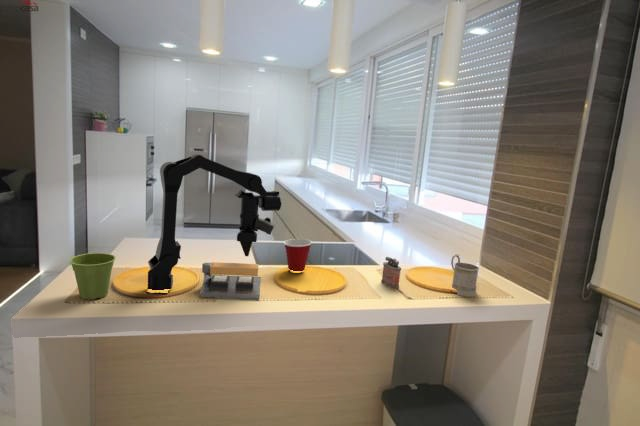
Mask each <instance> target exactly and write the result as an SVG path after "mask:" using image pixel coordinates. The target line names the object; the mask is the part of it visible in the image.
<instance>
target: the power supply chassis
mask: <svg viewBox="0 0 640 426" xmlns="http://www.w3.org/2000/svg"><path fill="white" fill-rule="evenodd" d="M261 279H262V277H261V276H239V275H213V274H210V273H209V274H206V273H203V285H202V286H201V290H200V292H199V298H200V297H215V298H214V299H229V300H230V299H234V300H235V299H237V300H238V299H239V300H260V297H261V296H260V295H261Z"/></svg>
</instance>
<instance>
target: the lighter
mask: <svg viewBox="0 0 640 426" xmlns="http://www.w3.org/2000/svg"><path fill="white" fill-rule="evenodd" d="M385 261H386V262H385ZM385 261H384V262H383V263H382V265H383V266H382V267H383V268H382V277H381V280H380V281H381V282H380V283H382V284H383V285H385V286H387V287H389V288H392V289H395V290H396V289H397V288H398V289H399V288H400V278H401V271H402V267H401V266H399V264H400V261H399V260H397V258H392V257H390V256H386V257H385Z"/></svg>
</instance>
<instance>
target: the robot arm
mask: <svg viewBox="0 0 640 426" xmlns="http://www.w3.org/2000/svg"><path fill="white" fill-rule="evenodd" d="M198 169H199V170H200V169H201V170H204V171H207V172H209V173H212V174H214V175H217V176H220V177H222V178H225V179H226V180H230V181H232V182H233V183H235V184H236V185H238V186H239V187H241V188H242V189H240V190H239V191H238V192H237V193H235V194H234V195H235V197H236V198H238V199H240V201H241V202H240V215H239V228H238V229H239V230H238V232H237V233H236V234H237V235H236V241H237V242H239V243H240V246H241V249H242V251H243V254H244V257H249V255H250V251H251V248H252V244H253V243H257V241H258V233H257V232H259V231H260V232H263V233H265V234H267V235H269V236H270V235H271V234H272V232H273V229H274V228H275V224H274V223H273V222H272V221H271V218H270V217H269V216H266V217H265V218H261V217H260V214H259V209H260V210H261V211H262V212H278V211H280V210H281V207H282V199H281V196H280V191H277V190H272V191H267V190H266V189H265V187H264V185H263V180H262V177H261V176H260V175H258V174H255V173H251V172H248V171H242V170H237V169H234V168H231V167H229V166H227V165H224V164H222V163H220V162H217V161H215V160H212V159H209V158H207V157H205V156H204V155H202V154H200V153H199V154H198V153H196V154H192V155H191V156H188V157H186V158H182V159H179V160H177V161H175V162H174V161H167V162H165V163H163V164H162V165H161V166H160V168H159V175H160V181H161V187H162V192H163V193H162V195H163V196H162V210H161V211H162V212H161V214H162V215H161V227H160V230H161V231H160V232H161V233H160V238H159V240H158V243H157V246H156V250H155V255H154V256H152V257H151V258H150V259H149V260H148V261H147V264H148V265H149V268H150V269H149V270H148V271H147V289H152V290H164V289H171V288H173V287H172V286H174V275H173V274H172V270H173V268H174V267H175V266H176V265H178V263H179V260H180V259H181V258H182V257H181V249H182V246H181V244H180V242H179V241H178V240H177V241H176V225H177V210H178V209H177V207H178V193H179V192H180V191H179V190H180V188H181V186H182V182H183V178H184V177H185V176H187V175H189V174H191V173H193V172H195V171H196V170H198ZM243 189H244V190H247V191H248V192H245V191H244V190H243ZM254 193H255V194H254ZM256 194H258V195H256ZM171 290H172V289H171Z"/></svg>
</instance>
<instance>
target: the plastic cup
mask: <svg viewBox="0 0 640 426" xmlns="http://www.w3.org/2000/svg"><path fill="white" fill-rule="evenodd" d="M312 244H313V241H312V240H310V239H307V238H290V239H286V240H284V241H283V245H284V247H285V252H286V260H287V261H286V262H287V267H288V268H289V269H290V270H293V271H303V270H304V271H305V270H306V269H305V268H306V264H307V262H308V257H309V253H310V248H311V245H312ZM288 268H287V269H288Z"/></svg>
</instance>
